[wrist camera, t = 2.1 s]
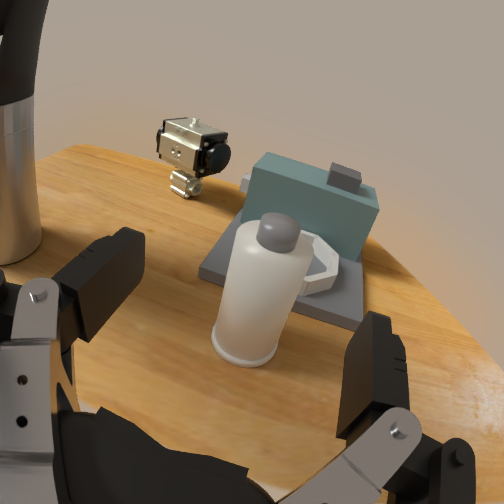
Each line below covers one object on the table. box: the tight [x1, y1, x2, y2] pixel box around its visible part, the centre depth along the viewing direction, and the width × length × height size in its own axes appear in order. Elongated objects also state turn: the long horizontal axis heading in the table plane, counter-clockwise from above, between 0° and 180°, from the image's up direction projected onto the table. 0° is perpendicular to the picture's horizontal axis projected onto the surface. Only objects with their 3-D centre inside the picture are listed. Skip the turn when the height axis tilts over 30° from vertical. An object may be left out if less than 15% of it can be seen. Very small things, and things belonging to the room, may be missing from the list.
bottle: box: [211, 212, 314, 368], centre depth 25 cm, size 6×6×12 cm
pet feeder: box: [198, 152, 379, 332], centre depth 38 cm, size 19×19×12 cm
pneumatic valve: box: [156, 118, 231, 198], centre depth 46 cm, size 6×12×12 cm, turn 53°
